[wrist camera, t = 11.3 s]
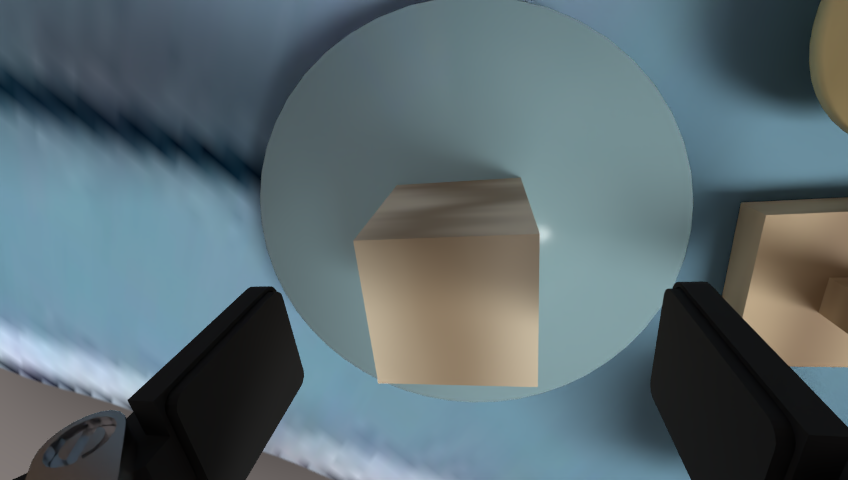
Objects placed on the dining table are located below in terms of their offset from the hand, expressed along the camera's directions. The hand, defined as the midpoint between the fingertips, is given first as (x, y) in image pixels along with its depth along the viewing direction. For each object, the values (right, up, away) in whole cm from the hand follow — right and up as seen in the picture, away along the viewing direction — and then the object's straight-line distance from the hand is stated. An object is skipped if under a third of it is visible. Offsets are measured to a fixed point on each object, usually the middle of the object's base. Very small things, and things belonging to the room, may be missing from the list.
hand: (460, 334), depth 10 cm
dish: (+1, +3, +9) cm, 9 cm away
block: (+1, +2, +7) cm, 8 cm away
